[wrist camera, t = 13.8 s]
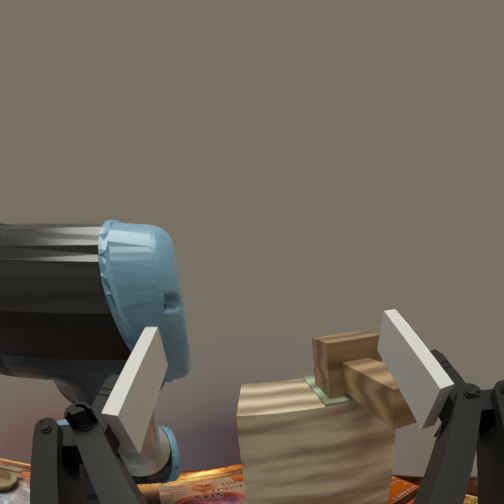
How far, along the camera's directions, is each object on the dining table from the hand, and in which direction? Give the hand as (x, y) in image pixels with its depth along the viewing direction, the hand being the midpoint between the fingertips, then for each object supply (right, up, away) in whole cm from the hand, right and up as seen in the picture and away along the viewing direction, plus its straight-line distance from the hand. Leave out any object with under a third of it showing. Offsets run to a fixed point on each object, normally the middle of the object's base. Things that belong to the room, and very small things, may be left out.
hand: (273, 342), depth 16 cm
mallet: (+13, -14, +17) cm, 26 cm away
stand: (+10, -46, +21) cm, 52 cm away
